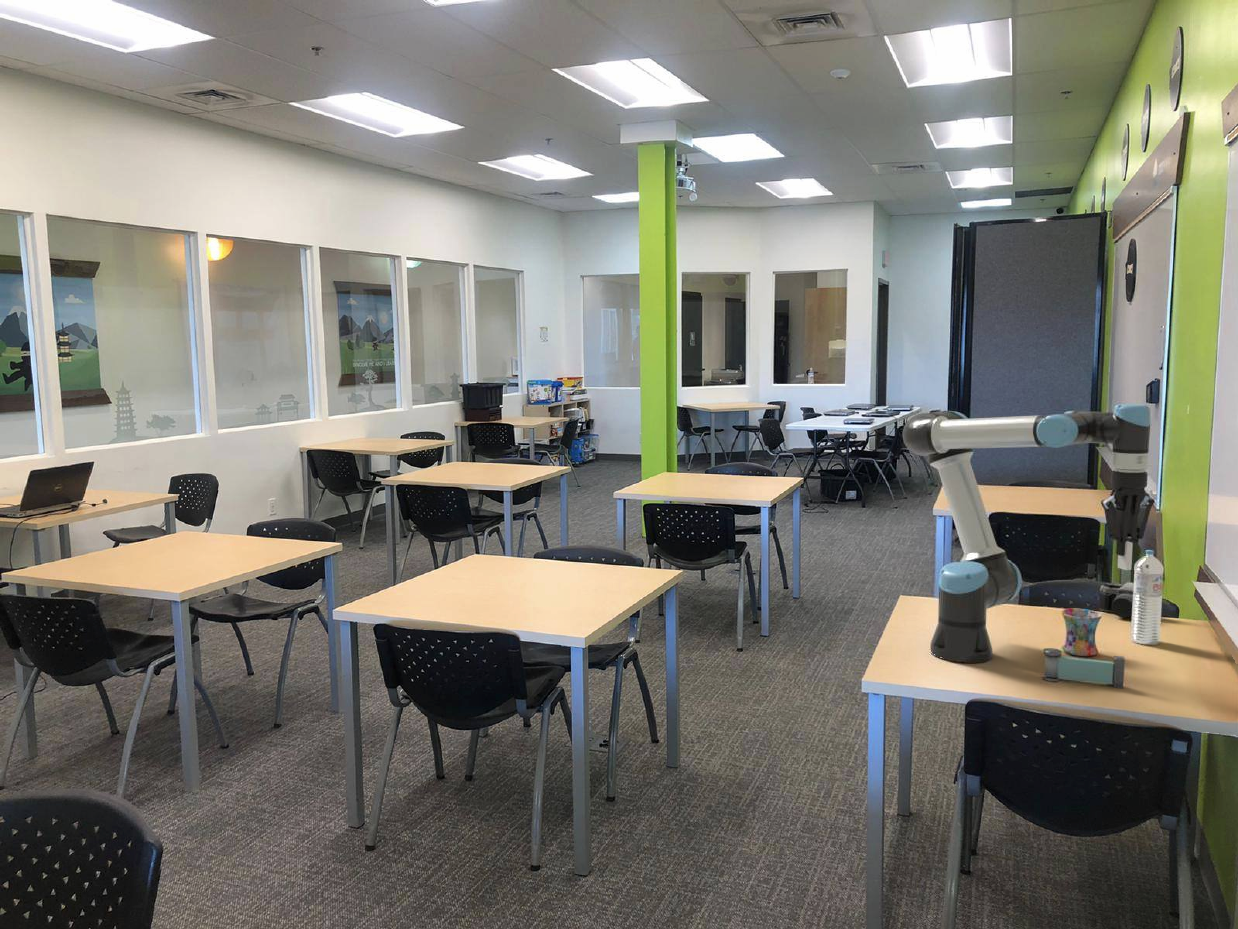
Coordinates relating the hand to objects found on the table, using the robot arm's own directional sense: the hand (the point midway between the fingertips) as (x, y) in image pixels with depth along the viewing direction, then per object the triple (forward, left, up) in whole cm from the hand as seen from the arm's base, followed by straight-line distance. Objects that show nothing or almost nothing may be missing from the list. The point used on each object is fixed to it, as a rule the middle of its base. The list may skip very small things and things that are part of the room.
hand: (1124, 568), depth 221 cm
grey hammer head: (-15, -8, -26) cm, 31 cm away
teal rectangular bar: (-9, -8, -26) cm, 29 cm away
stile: (-1, -8, -26) cm, 28 cm away
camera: (+7, +57, -27) cm, 64 cm away
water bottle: (+9, +32, -27) cm, 43 cm away
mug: (-7, +17, -27) cm, 32 cm away
